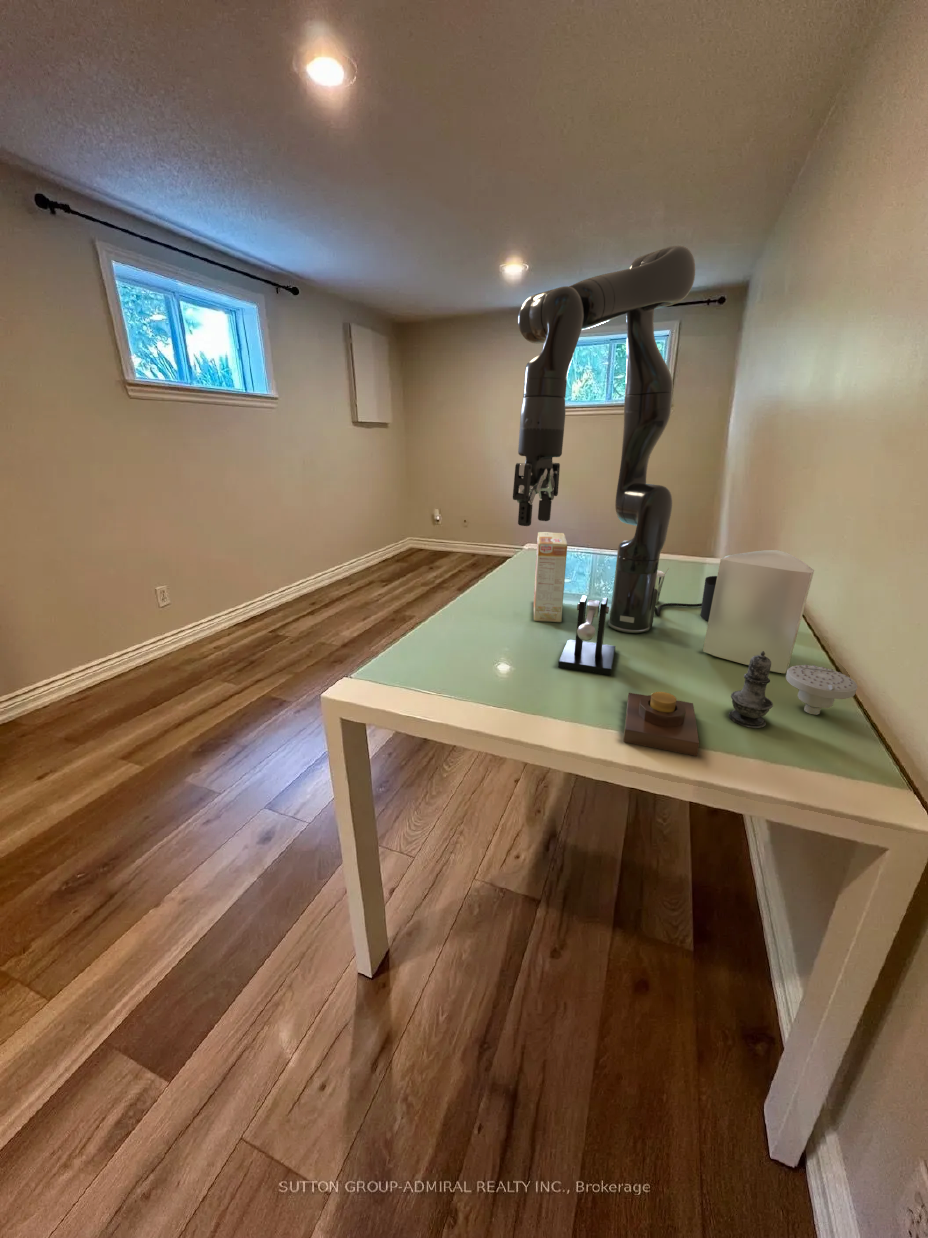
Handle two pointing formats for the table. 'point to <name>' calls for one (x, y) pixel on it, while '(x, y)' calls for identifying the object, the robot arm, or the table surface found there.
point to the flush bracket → (589, 646)
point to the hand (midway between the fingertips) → (534, 523)
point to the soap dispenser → (758, 607)
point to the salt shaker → (753, 695)
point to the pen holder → (708, 596)
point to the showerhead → (819, 686)
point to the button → (663, 702)
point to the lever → (589, 621)
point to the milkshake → (659, 583)
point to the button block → (661, 726)
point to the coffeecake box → (549, 576)
